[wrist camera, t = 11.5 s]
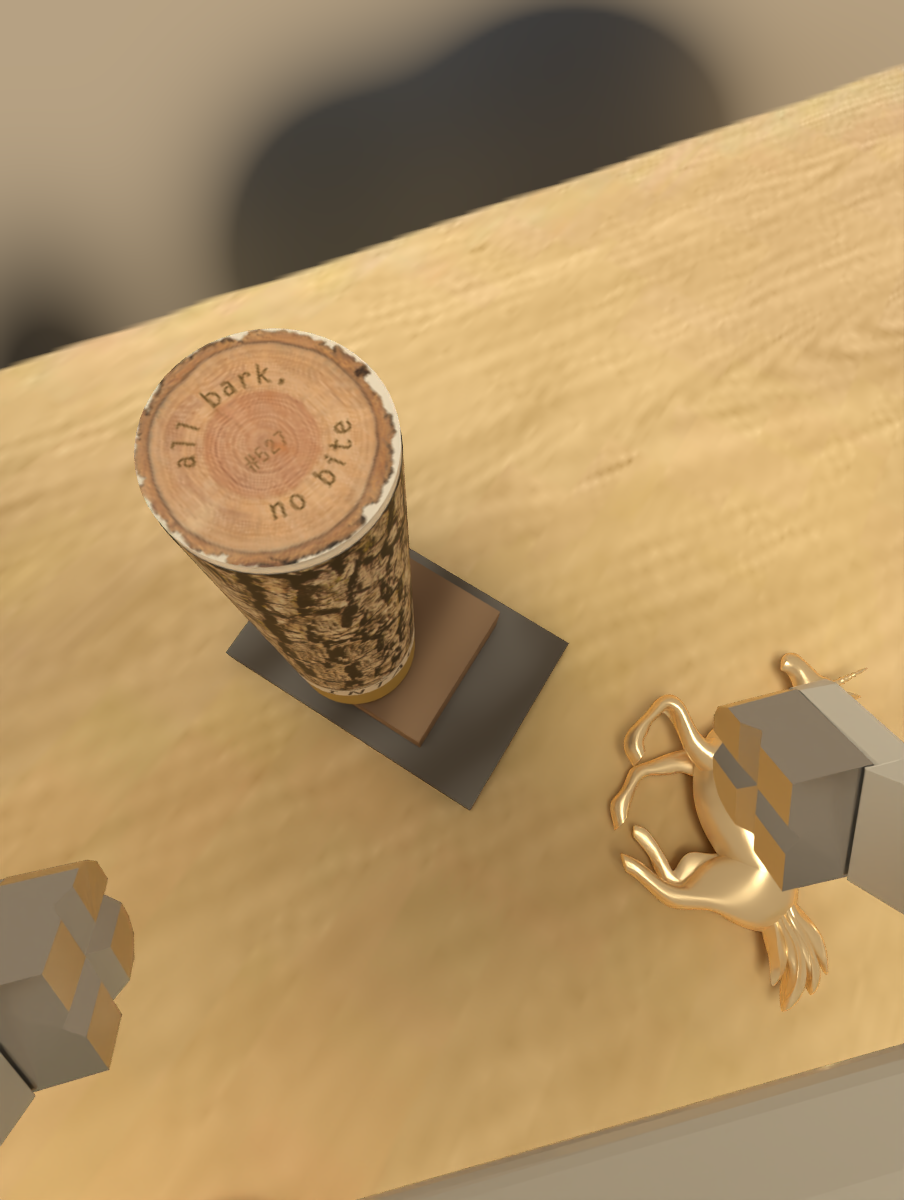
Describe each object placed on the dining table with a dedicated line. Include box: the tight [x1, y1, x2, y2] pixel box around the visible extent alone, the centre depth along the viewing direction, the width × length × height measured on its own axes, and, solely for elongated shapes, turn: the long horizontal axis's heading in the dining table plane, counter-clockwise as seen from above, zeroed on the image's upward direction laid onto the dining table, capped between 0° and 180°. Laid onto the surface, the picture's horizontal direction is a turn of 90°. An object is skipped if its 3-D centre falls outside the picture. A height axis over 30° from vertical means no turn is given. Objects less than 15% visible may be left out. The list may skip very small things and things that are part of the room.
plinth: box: [226, 548, 569, 810], centre depth 46 cm, size 18×12×5 cm, turn 58°
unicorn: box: [610, 653, 867, 1012], centre depth 44 cm, size 20×4×17 cm
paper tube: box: [134, 329, 415, 704], centre depth 31 cm, size 7×7×25 cm
